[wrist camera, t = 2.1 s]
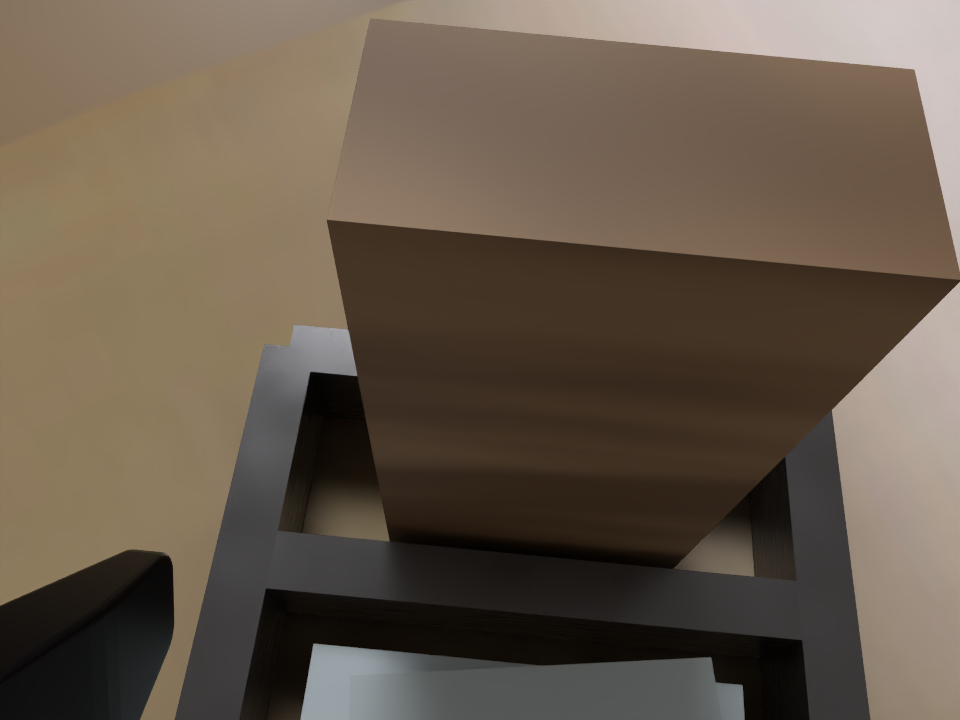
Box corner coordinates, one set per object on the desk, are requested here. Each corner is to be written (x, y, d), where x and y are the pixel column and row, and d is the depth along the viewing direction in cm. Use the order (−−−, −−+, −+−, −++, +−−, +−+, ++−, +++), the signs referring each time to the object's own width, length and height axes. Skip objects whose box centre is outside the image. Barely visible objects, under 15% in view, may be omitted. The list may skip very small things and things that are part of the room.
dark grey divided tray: (866, 1227, 15) (942, 1303, 12) (114, 1153, 15) (56, 1215, 13) (788, 418, 22) (827, 375, 20) (286, 370, 22) (269, 322, 20)
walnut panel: (661, 579, 20) (960, 280, 8) (392, 553, 20) (326, 219, 8) (659, 462, 21) (914, 69, 10) (408, 438, 21) (370, 18, 10)
